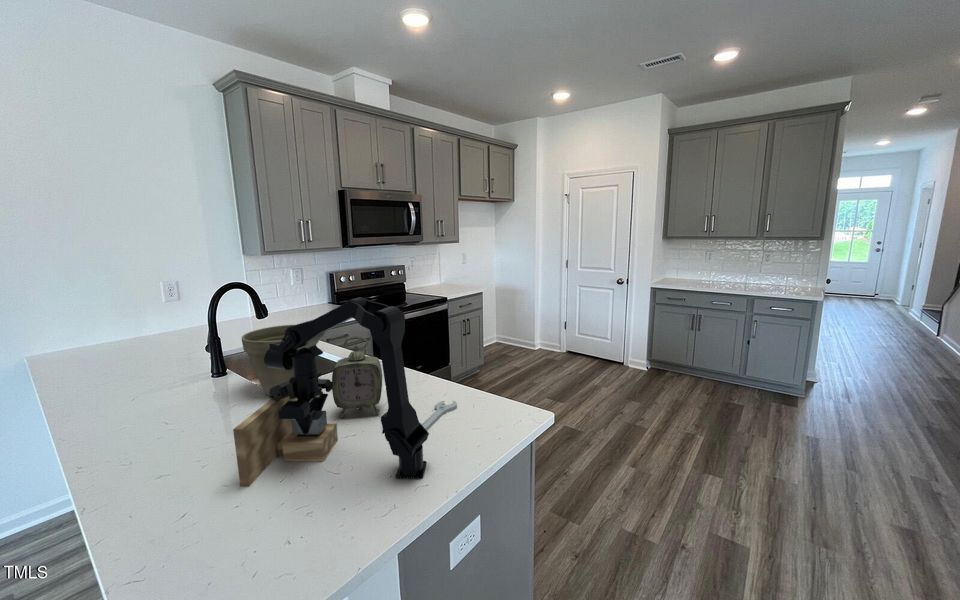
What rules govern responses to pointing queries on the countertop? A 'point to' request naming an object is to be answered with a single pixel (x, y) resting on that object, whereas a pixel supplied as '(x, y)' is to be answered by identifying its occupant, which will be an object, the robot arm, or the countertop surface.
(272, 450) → the wooden desk organizer
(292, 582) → the countertop surface
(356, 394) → the tabletop clock
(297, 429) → the grey rectangular block
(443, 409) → the adjustable wrench
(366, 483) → the countertop surface
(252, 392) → the countertop surface
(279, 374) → the plant pot
